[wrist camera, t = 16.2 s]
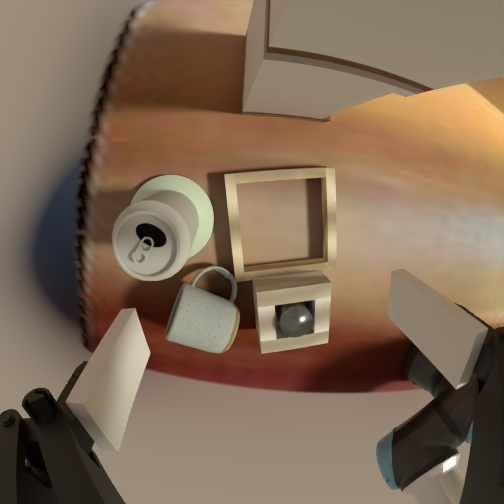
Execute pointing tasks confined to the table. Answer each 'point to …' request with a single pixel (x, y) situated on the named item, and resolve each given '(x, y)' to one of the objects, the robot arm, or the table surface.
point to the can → (155, 235)
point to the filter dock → (288, 266)
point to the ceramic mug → (204, 316)
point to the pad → (193, 194)
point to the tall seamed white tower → (364, 52)
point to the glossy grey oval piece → (294, 318)
